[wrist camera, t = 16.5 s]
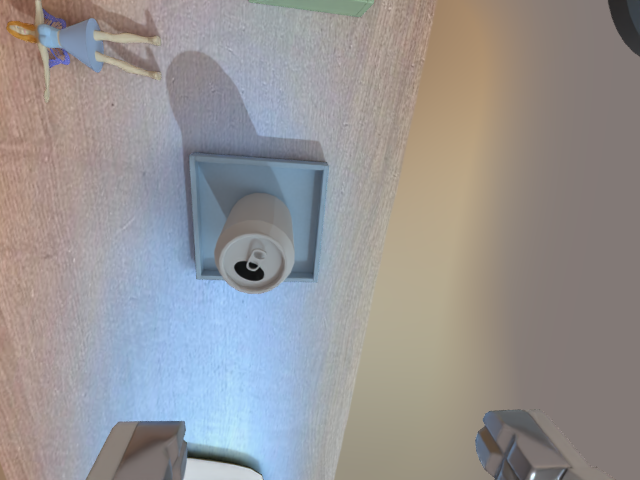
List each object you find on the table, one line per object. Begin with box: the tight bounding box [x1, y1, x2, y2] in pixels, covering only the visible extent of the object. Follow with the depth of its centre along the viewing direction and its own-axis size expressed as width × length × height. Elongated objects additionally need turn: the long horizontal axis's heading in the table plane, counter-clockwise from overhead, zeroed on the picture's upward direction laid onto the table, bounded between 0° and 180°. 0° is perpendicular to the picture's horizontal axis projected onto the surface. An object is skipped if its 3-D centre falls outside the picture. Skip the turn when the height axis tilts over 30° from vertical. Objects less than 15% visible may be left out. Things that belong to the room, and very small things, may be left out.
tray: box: [189, 153, 329, 282], centre depth 40 cm, size 15×15×2 cm
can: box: [214, 193, 295, 294], centre depth 35 cm, size 8×8×12 cm
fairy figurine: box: [6, 0, 161, 103], centre depth 31 cm, size 12×5×12 cm
